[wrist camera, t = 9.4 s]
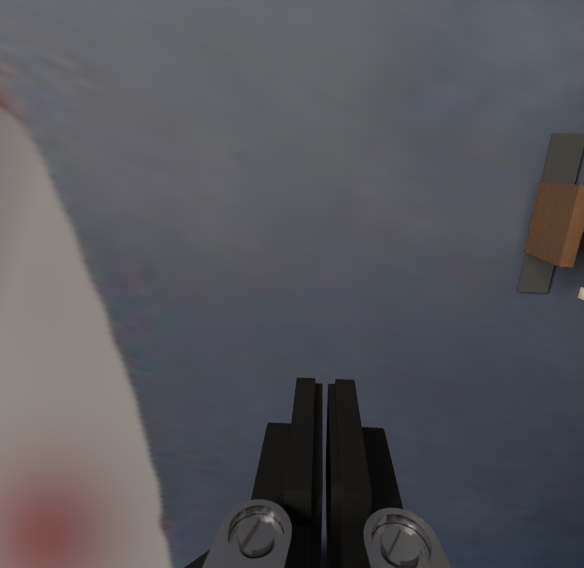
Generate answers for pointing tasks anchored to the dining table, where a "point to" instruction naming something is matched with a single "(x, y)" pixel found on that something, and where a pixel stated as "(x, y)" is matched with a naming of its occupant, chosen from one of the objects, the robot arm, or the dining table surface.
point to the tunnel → (581, 293)
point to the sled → (556, 223)
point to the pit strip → (556, 170)
